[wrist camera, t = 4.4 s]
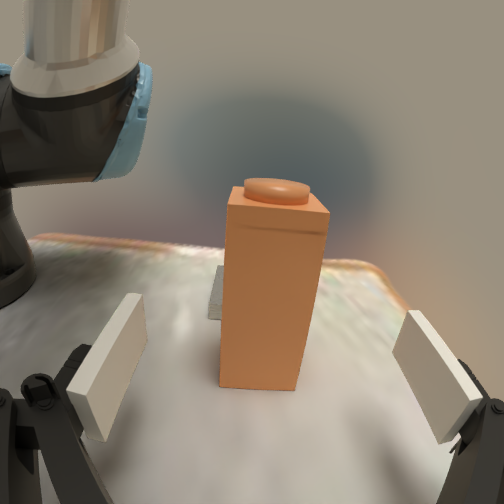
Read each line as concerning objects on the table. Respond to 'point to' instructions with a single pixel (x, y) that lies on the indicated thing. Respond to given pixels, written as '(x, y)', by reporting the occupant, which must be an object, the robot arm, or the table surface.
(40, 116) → the robot arm
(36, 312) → the table surface
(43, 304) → the table surface
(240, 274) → the orange capped block
